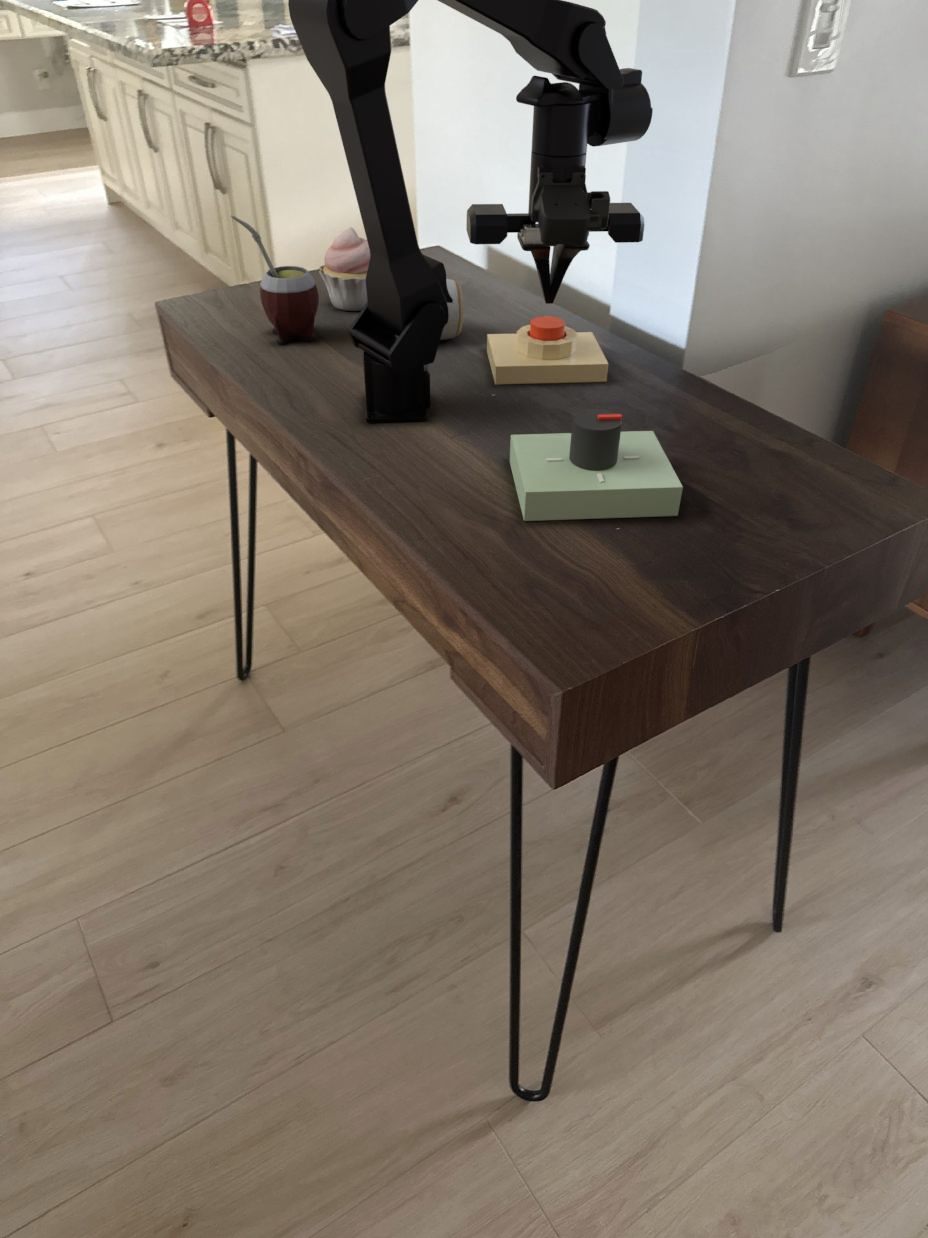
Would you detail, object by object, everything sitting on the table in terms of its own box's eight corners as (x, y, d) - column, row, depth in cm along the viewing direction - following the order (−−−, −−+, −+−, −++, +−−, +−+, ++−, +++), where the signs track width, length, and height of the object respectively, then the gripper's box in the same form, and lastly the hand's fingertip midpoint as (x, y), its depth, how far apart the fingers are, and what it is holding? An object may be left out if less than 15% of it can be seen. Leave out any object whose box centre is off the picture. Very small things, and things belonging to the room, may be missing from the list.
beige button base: (495, 384, 103) (496, 350, 101) (486, 351, 111) (487, 319, 109) (606, 381, 104) (610, 348, 102) (590, 348, 112) (593, 317, 109)
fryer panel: (523, 521, 80) (525, 490, 78) (509, 462, 89) (510, 432, 87) (677, 516, 81) (683, 485, 79) (648, 457, 90) (653, 428, 88)
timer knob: (573, 471, 81) (577, 427, 78) (565, 448, 84) (569, 405, 82) (621, 469, 81) (627, 426, 79) (611, 447, 85) (616, 404, 82)
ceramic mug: (465, 346, 112) (465, 283, 107) (400, 350, 111) (397, 287, 106) (450, 318, 120) (450, 258, 116) (389, 321, 119) (386, 261, 114)
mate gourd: (332, 332, 116) (321, 207, 106) (296, 353, 110) (282, 223, 101) (284, 322, 118) (270, 199, 109) (247, 342, 113) (229, 214, 103)
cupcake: (403, 302, 125) (400, 226, 118) (356, 320, 119) (351, 241, 113) (354, 288, 129) (349, 214, 123) (307, 305, 123) (299, 228, 117)
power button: (532, 343, 104) (532, 328, 102) (527, 330, 107) (528, 316, 106) (566, 342, 104) (567, 327, 103) (560, 329, 107) (561, 315, 106)
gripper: (476, 169, 86) (473, 329, 96) (666, 168, 87) (645, 326, 97) (466, 145, 95) (465, 294, 105) (640, 144, 96) (623, 292, 106)
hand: (548, 302), depth 103 cm, fingers closed
